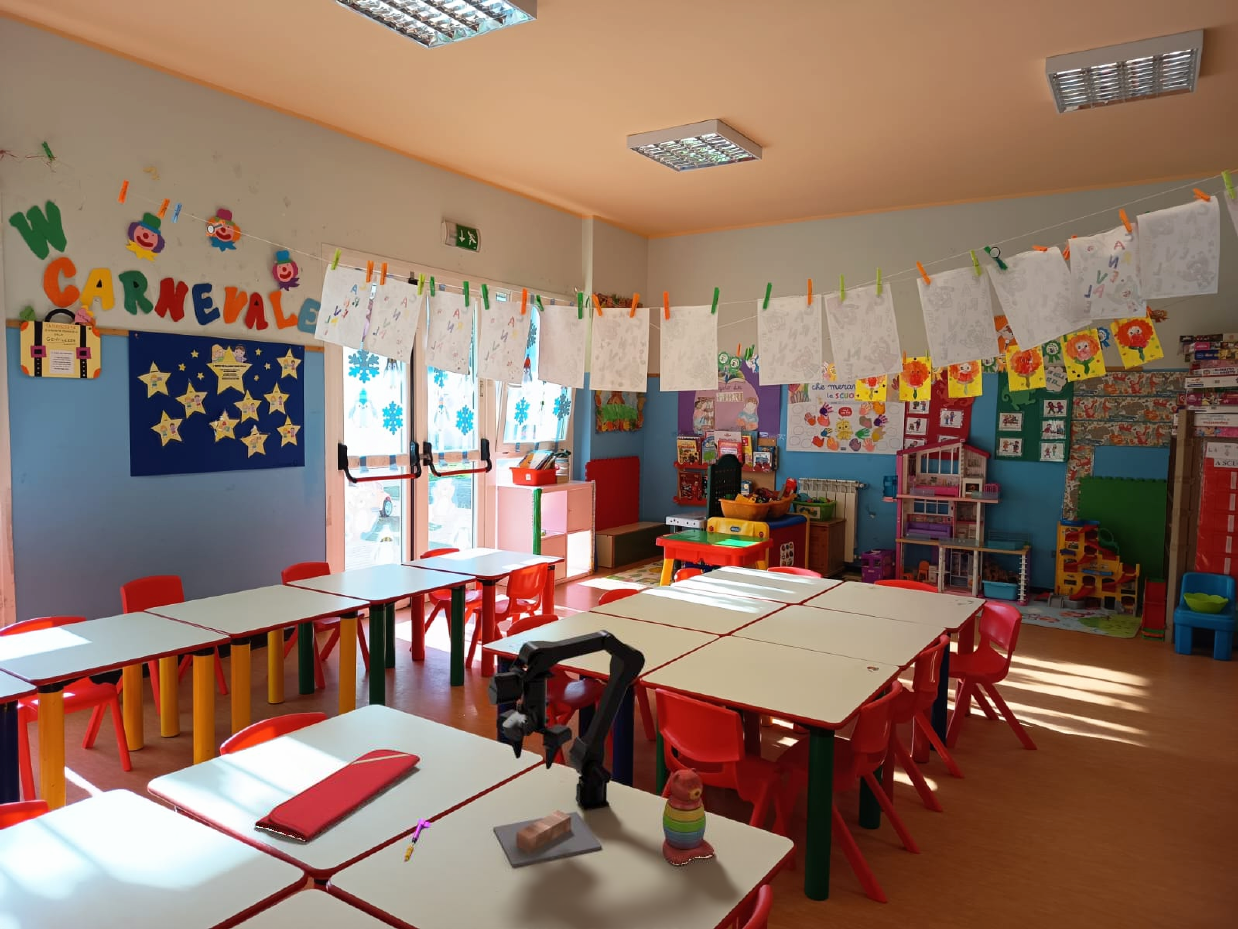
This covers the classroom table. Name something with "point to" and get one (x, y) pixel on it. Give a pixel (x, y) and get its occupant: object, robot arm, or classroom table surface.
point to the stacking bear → (685, 819)
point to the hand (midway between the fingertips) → (533, 763)
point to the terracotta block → (543, 831)
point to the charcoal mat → (561, 846)
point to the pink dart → (416, 836)
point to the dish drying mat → (338, 794)
